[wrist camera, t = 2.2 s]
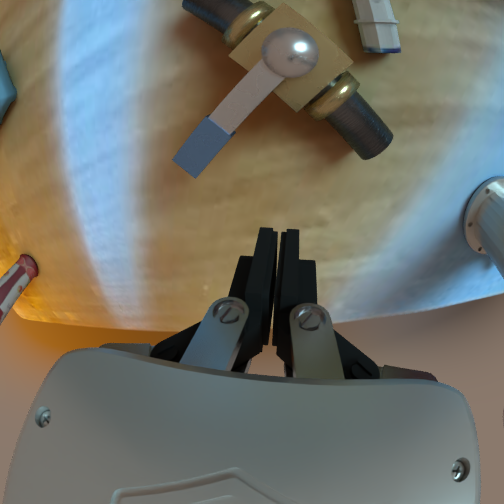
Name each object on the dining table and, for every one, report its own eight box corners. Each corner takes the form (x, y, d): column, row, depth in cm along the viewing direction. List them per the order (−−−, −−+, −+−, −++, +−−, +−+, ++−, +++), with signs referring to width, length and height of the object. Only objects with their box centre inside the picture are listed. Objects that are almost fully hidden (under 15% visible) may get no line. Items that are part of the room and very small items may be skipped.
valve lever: (327, 55, 16) (330, 53, 15) (208, 175, 24) (201, 184, 22) (288, 22, 15) (287, 17, 13) (174, 148, 23) (165, 155, 21)
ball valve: (391, 121, 25) (417, 137, 19) (348, 157, 29) (362, 182, 22) (227, -20, 18) (206, -44, 12) (187, 21, 21) (155, 10, 15)
